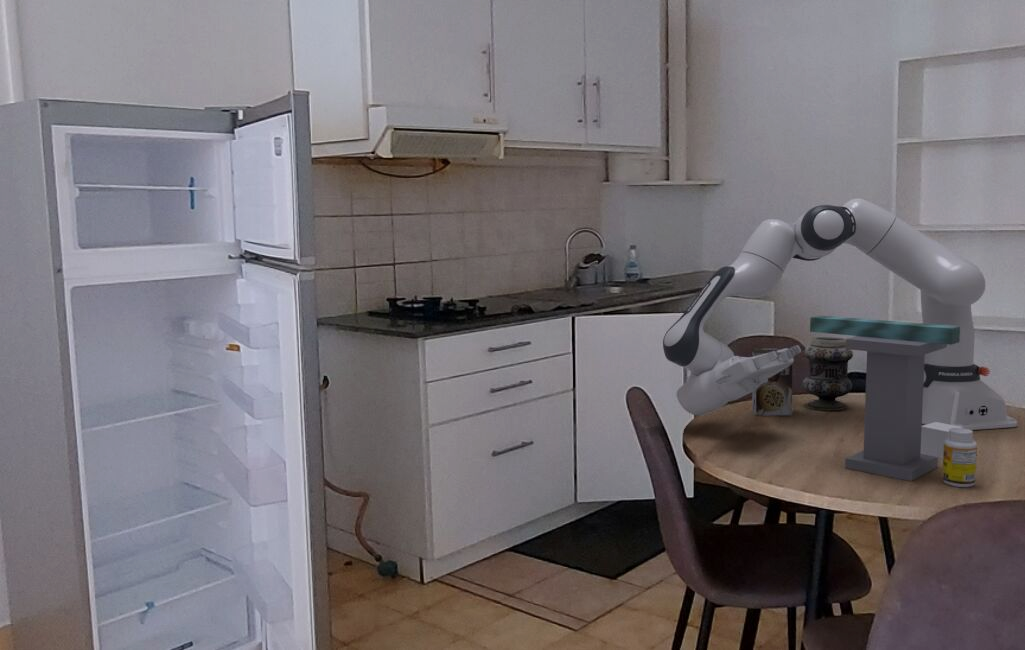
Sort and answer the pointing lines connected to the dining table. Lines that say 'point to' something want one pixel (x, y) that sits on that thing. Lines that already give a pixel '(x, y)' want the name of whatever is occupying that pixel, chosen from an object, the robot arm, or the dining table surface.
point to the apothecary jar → (828, 372)
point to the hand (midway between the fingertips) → (787, 351)
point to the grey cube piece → (935, 438)
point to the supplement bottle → (959, 458)
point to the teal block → (886, 329)
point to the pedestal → (893, 408)
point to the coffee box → (773, 391)
